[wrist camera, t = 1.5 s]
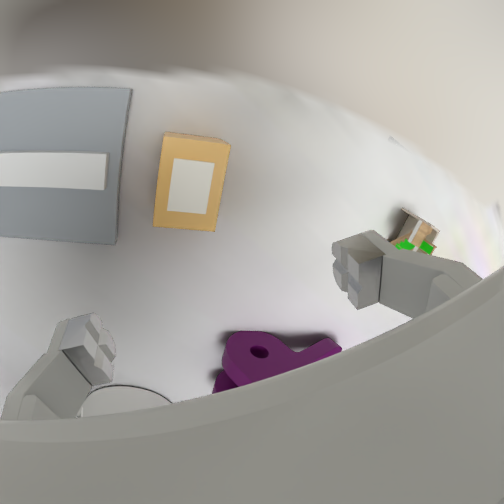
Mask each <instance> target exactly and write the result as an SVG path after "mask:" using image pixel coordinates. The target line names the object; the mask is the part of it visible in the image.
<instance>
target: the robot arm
mask: <svg viewBox="0 0 504 504" xmlns="http://www.w3.org/2000/svg"><path fill="white" fill-rule="evenodd" d="M332 254H333V255H334V257H335V258H336V260H335V262H334V263H333V274H334V277H335V281H336V283H337V285H338V286H339V288H340V289H341V290H342V291H345V292H348V299H349V300H350V301H351V303H352V304H353V305H354V306H355V308H356V309H357V310H359V309H362V308H364V307H367V306H370V305H372V304H375V303H377V302H379V303H380V304H383V305H385V306H387V307H389V308H391V309H394V310H396V311H398V312H400V313H402V314H405V315H407V316H409V317H411V318H413V319H412V320H410V321H408V322H406V323H404V324H402V325H400V326H398V327H396V328H394V329H392V330H390V331H388V332H385V333H383V334H381V335H379V336H377V337H375V338H372V339H370V340H368V341H366V342H363V343H361V344H359V345H356V346H354V347H352V348H349V349H347V350H344V351H342V352H339V353H337V354H334V355H332V356H329V357H327V358H324V359H322V360H319V361H316V362H314V363H311V364H308V365H305V366H303V367H300V368H297V369H294V370H291V371H288V372H285V373H282V374H279V375H276V376H273V377H270V378H267V379H264V380H260V381H257V382H254V383H251V384H247V385H244V386H240V387H237V388H233V389H230V390H226V391H222V392H219V393H215V394H211V395H207V396H203V397H199V398H194V399H190V400H186V401H181V402H177V403H172V404H171V403H170V402H169V401H168V400H167V399H165V398H164V397H162V396H160V395H158V394H156V393H153V392H151V391H148V390H144V389H140V388H134V387H125V386H115V387H107V388H102V389H99V390H96V391H94V392H93V393H91V394H90V395H89V396H88V394H89V392H90V390H91V389H92V386H95V385H100V384H104V383H109V382H112V380H113V370H114V366H113V365H112V364H111V362H112V360H113V359H114V358H115V353H116V349H115V343H114V340H113V338H112V336H111V334H110V333H109V331H108V330H106V329H104V328H102V320H101V319H100V317H99V316H98V314H96V313H90V314H86V315H82V316H78V317H74V318H71V319H66V320H63V321H60V322H58V324H57V326H56V329H55V332H54V334H53V337H52V340H51V343H50V346H49V349H48V352H47V353H46V354H43V355H42V357H41V358H40V359H39V360H38V361H37V362H36V363H35V364H34V365H33V367H32V368H31V369H30V370H29V371H28V372H27V373H26V374H25V376H24V377H23V378H22V379H21V380H20V381H19V382H18V384H17V385H16V386H15V387H14V388H13V390H12V391H11V392H10V393H9V394H8V395H7V398H6V401H5V405H4V408H3V412H2V416H1V419H0V504H504V266H503V267H501V268H500V269H498V270H497V271H495V272H494V273H492V274H491V275H489V276H488V277H486V278H484V279H482V278H481V277H480V276H478V275H477V274H476V273H475V272H473V271H472V270H471V269H470V268H468V267H467V266H466V265H464V264H463V263H461V262H457V261H453V260H449V259H444V258H440V257H436V256H432V255H428V254H423V253H419V252H415V251H411V250H406V249H400V250H399V249H397V248H396V247H395V246H394V245H392V244H391V243H390V242H388V241H387V240H386V239H385V238H383V237H382V236H381V235H379V234H378V233H377V232H376V231H374V230H368V231H365V232H362V233H360V234H357V235H354V236H351V237H348V238H345V239H343V240H340V241H337V242H334V243H333V244H332ZM87 396H88V397H87ZM86 397H87V398H86ZM76 416H77V417H78V418H75V417H76Z"/></svg>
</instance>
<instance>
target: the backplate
mask: <svg viewBox="0 0 504 504" xmlns="http://www.w3.org/2000/svg"><path fill="white" fill-rule="evenodd" d="M131 94H132V89H130V88H109V87H62V88H42V89H28V90H18V91H9V92H1V93H0V237H13V238H26V239H39V240H52V241H65V242H78V243H92V244H105V245H115V244H116V241H117V220H118V200H119V186H120V174H121V163H122V154H123V146H124V138H125V131H126V124H127V117H128V111H129V105H130V99H131Z"/></svg>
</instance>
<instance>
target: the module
mask: <svg viewBox="0 0 504 504" xmlns="http://www.w3.org/2000/svg"><path fill="white" fill-rule="evenodd" d="M230 148H231V145H230V144H228V143H227V142H225V141H223V140H222V139H217V138H210V137H203V136H196V135H188V134H180V133H171V132H165V134H164V137H163V144H162V150H161V157H160V164H159V172H158V180H157V188H156V197H155V207H154V217H153V227H165V228H177V229H189V230H201V231H213V232H215V228H216V222H217V216H218V211H219V205H220V200H221V194H222V189H223V184H224V178H225V173H226V168H227V163H228V158H229V153H230Z"/></svg>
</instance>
